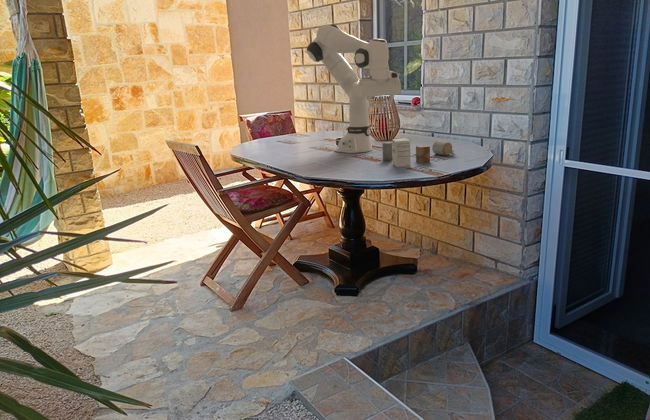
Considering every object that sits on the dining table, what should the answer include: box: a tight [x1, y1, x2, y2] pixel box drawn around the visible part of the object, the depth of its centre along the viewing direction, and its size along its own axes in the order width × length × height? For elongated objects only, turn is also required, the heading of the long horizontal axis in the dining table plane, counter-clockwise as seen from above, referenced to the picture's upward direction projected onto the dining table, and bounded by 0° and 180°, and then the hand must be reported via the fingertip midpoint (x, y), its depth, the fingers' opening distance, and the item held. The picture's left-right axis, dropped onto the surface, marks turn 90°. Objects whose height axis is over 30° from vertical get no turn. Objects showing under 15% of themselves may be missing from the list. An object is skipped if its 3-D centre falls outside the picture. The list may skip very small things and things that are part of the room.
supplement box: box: [391, 137, 411, 168], centre depth 245 cm, size 7×7×13 cm
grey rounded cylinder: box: [382, 141, 393, 162], centre depth 259 cm, size 5×5×9 cm
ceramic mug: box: [431, 139, 454, 157], centre depth 264 cm, size 11×8×8 cm
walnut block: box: [415, 144, 431, 164], centre depth 249 cm, size 5×5×8 cm
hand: (380, 105), depth 236 cm, fingers open, 8 cm apart
